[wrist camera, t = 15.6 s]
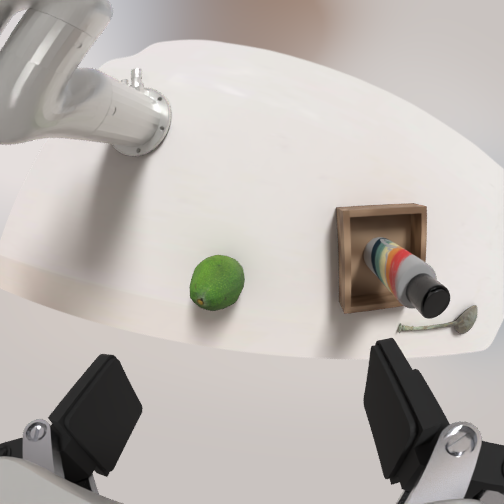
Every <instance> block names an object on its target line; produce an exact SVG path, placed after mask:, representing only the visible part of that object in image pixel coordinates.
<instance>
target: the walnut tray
mask: <svg viewBox="0 0 504 504" xmlns="http://www.w3.org/2000/svg"><path fill="white" fill-rule="evenodd" d="M336 213H337V230H338V254H339V302H340V304H341V307H342V309H343V311H344V314H347V313H355V312H363V311H371V310H378V309H385V308H392V307H399V306H403V305H402V304H401V303H400V302H399V301H398V300H397V299H396V298H395V296H394V295H393V294H392V293H391V292H390V291H389V290H388V288H387V287H386V286H385V285H384V284H383V283H382V282H381V281H380V279H379V278H378V277H377V276H376V275H375V274H374V273H373V272H372V271H371V270H370V268H369V267H368V266H367V265H366V263H365V261H364V249H365V247H366V245H367V244H368V243H369V242H370V241H371V240H372V239H374V238H377V237H383V238H386V239H389V240H390V241H392V242H394V243H395V244H397V245H399V246H400V247H402V248H404V249H405V250H407V251H408V252H410V253H411V254H413V255H415V256H416V257H418V258H419V259H421V260H422V261H424V262H425V260H426V238H427V206H423V205H418V204H414V203H411V204H387V205H368V206H351V207H336Z"/></svg>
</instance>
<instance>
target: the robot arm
mask: <svg viewBox="0 0 504 504" xmlns="http://www.w3.org/2000/svg"><path fill="white" fill-rule="evenodd" d="M26 9H28V10H27V11H26V12H25V14H24V15H23V17H22V18H21V20H20V21H19V22H18V24H17V25H16V27H15V29H14V30H13V32H12V33H11V35H10V37H9V38H8V40H7V41H6V43H5V45H4V46H3V47H2V49H1V51H0V144H2V145H11V144H19V143H24V142H28V141H33V140H37V139H43V138H66V139H75V140H84V141H92V142H100V143H107V144H112V145H113V147H114V148H115V149H116V150H117V151H119V152H120V153H122V154H124V155H128V156H140V155H144V154H146V153H149V152H150V151H152V150H153V149H155V148H156V147H157V146H158V145H159V144H160V143H161V141H162V140H163V139H164V137H165V135H166V134H167V132H168V129H169V126H170V122H171V109H170V105H169V103H168V100H167V99H166V98H165V96H164V95H162V94H161V93H160V92H158V91H157V90H154V89H152V88H144V84H143V83H142V82H141V79H142V69H139V68H137V69H133V70H132V71H131V80H132V85H130V86H129V85H128V80H127V79H124V80H121V81H119V80H117V79H115V78H113V77H111V76H109V75H107V74H105V73H103V72H101V71H99V70H96V69H93V68H77V67H78V65H79V64H80V62H81V61H82V59H83V58H84V57H85V55H86V54H87V52H88V51H89V50H90V48H91V47H92V46H93V44H94V43H95V42H96V40H97V39H98V37H99V36H100V35H101V34H102V32H103V31H104V29H105V28H106V27H107V25H108V24H109V22H110V20H111V17H112V15H113V8H112V5H111V4H110V2H109V1H108V0H0V35H1V34H2V32H3V30H4V29H5V27H6V26H7V23H9V21H10V20H11V18H12V17H13V16H14V15H15V14H16V13H18V12H20V11H22V10H26ZM163 128H164V130H163ZM140 150H141V151H140ZM364 407H365V411H366V414H367V417H368V421H369V424H370V427H371V431H372V434H373V437H374V441H375V445H376V448H377V451H378V455H379V459H380V463H381V467H382V471H383V475H384V477H385V479H389V478H390V482H391V484H395V483H398V482H400V484H401V487H402V489H404V491H403V493H402V495H401V496H400V498H399V499H398V501H397V503H396V504H504V445H499V444H494V443H489V442H485V441H482V437H481V433H480V431H479V430H478V428H477V427H476V426H474V425H473V424H471V423H468V422H456V423H452V424H449V422H448V420H447V418H446V416H445V415H444V413H443V411H442V409H441V407H440V406H439V404H438V402H437V400H436V399H435V397H434V395H433V393H432V392H431V390H430V388H429V386H428V385H427V383H426V381H425V380H424V378H423V376H422V375H421V373H420V372H419V370H417V369H414V370H412V368H411V367H410V365H409V363H408V361H407V360H406V358H405V356H404V355H403V353H402V351H401V350H400V348H399V347H398V345H397V343H396V342H395V340H394V339H393V338H389V339H384V340H379V341H377V342H376V345H375V346H372V347H371V351H370V360H369V367H368V374H367V382H366V388H365V393H364ZM141 413H142V405H141V403H140V401H139V399H138V397H137V396H136V394H135V392H134V390H133V388H132V386H131V384H130V382H129V380H128V378H127V376H126V374H125V372H124V370H123V368H122V365H121V363H120V361H119V360H118V359H117V358H116V357H115V356H114V355H107V354H101V355H99V356H98V357H97V359H96V360H95V361H94V362H93V363H92V364H91V366H90V367H89V368H88V369H87V370H86V372H85V373H84V374H83V375H82V376H81V378H80V379H79V380H78V381H77V382H76V384H75V385H74V386H73V387H72V388H71V390H70V391H69V392H68V393H67V395H66V396H65V397H64V398H63V400H62V401H61V402H60V403H59V405H58V406H57V407H56V408H55V410H54V411H53V412H52V413H51V415H50V416H49V417H48V418H49V420H50V421H51V422H52V425H51V426H50V424H49V423H48V422H47V421H45V420H43V419H36V420H34V421H32V422H30V423H29V424H28V425H27V426H26V427H25V429H24V432H23V438H19V439H16V440H12V441H8V442H5V443H2V444H0V504H122V503H119V502H117V501H114V500H111V499H109V498H106V497H103V496H101V495H99V493H98V490H97V487H96V484H95V480H94V477H93V474H92V473H93V471H94V470H95V471H96V473H98V474H101V475H104V476H106V477H107V476H108V474H109V472H110V471H112V470H113V469H114V467H115V465H116V463H117V461H118V459H119V457H120V455H121V453H122V451H123V449H124V447H125V445H126V443H127V440H128V439H129V437H130V435H131V433H132V431H133V429H134V427H135V425H136V423H137V421H138V419H139V417H140V415H141Z"/></svg>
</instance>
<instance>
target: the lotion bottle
mask: <svg viewBox="0 0 504 504" xmlns="http://www.w3.org/2000/svg"><path fill="white" fill-rule="evenodd" d="M364 261H365V263H366V265H367V266H368V267H369V268H370V270H371V271H372V272H373V273H374V274H375V275H376V276H377V277H378V278H379V279H380V281H381V282H382V283H383V284H384V285H385V286H386V287H387V288H388V290H389V291H390V292H391V293H392V294H393V295H394V296H395V298H396V299H397V300H398V301H399V302H400V303H401V304H402V305H403V306H405V307H407V308H416V309H417V310H418V311H419V312H420V313H421V314H422V316H424V317H425V318H434V317H436V316H438V315H440V314H441V313H442V312H443V311H444V310H445V309H446V308H447V306H448V305H449V302H450V293H449V291H448V289H447V288H446V287H445V286H443V285H442V284H441V283H440V282H438V281H437V278H436V274H435V271H434V270H433V268H432V267H431V266H430V265H428V264H427V263H425V262H424V261H422V260H421V259H419V258H418V257H416V256H415V255H413V254H411V253H410V252H408V251H407V250H405V249H404V248H402V247H400V246H399V245H397V244H395V243H394V242H392V241H390V240H389V239H386V238H383V237H377V238H374V239H372V240H371V241H370V242H369V243H368V244H367V245H366V247H365V249H364Z"/></svg>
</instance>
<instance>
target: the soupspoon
mask: <svg viewBox="0 0 504 504" xmlns="http://www.w3.org/2000/svg"><path fill="white" fill-rule="evenodd" d="M476 318H477V306H476V305H474V306H472V307H470V308H469V309H467V310H466V311H465V312H464V313H463V314H462V315H461V316H460V317H459V318H458V319H457V320H456V321H453V322H450V323H445V324H438V325H431V326H421V327H413V326H412V327H409V326H404V325H403V326H401V323H400V325H399V328H398V332H399V333H400V331H401V330H402V331H404V330H405V331H408V330H411V331H412V330H425V329H433V328H441V327H448V326H453V325H454V326H455V329H456V331H457V332H458V333H460V334H464V333H466V332H468V331H469V330H470V329H471V328H472V326H473V325H474V323H475V321H476Z"/></svg>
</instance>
